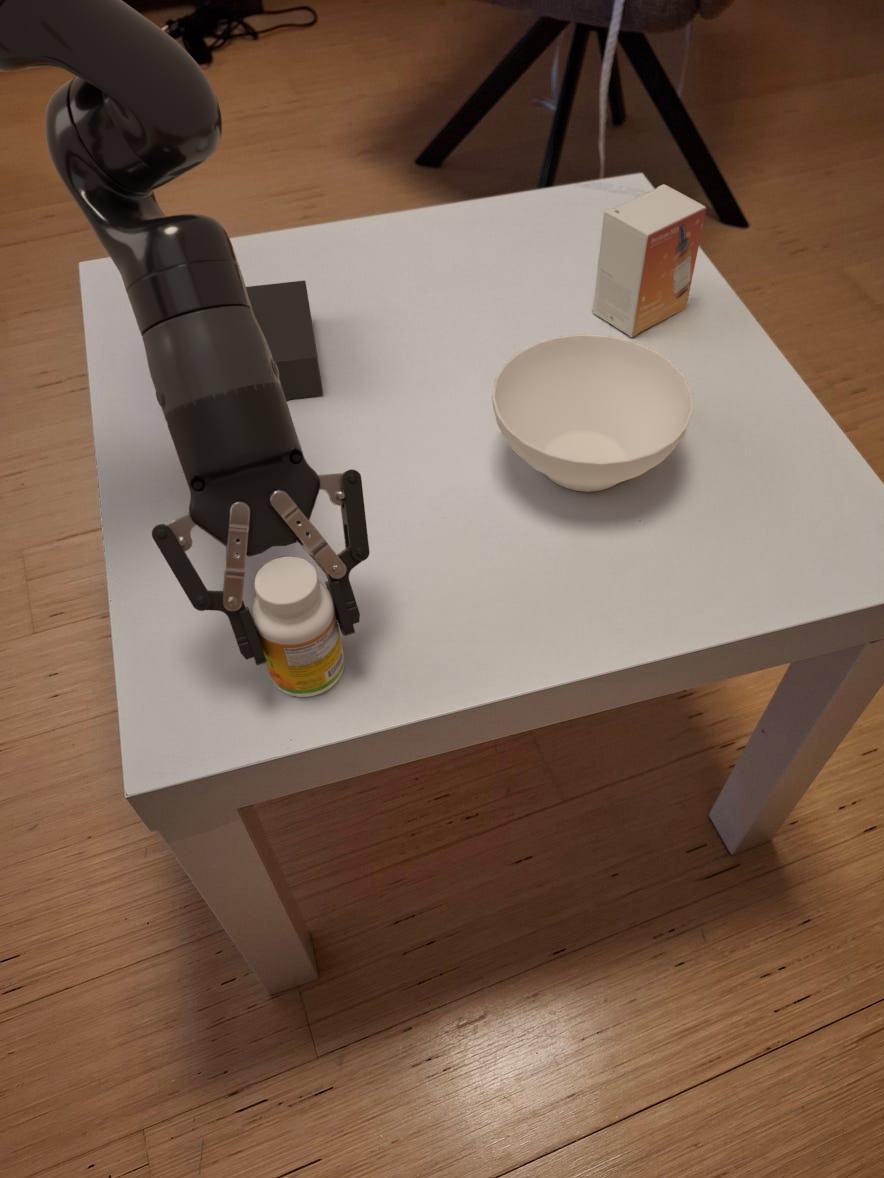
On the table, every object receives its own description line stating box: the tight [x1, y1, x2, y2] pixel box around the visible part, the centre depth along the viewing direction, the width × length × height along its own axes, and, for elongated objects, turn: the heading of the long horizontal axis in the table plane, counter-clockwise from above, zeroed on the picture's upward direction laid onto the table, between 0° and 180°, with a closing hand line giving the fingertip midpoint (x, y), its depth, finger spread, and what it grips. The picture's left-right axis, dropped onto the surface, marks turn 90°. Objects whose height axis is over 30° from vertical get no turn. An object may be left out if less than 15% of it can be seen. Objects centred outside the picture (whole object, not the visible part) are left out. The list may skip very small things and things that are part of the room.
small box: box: [592, 183, 707, 338], centre depth 89 cm, size 8×6×10 cm
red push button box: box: [246, 279, 324, 401], centre depth 86 cm, size 14×12×6 cm
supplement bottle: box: [251, 556, 345, 698], centre depth 63 cm, size 5×5×10 cm
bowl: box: [491, 333, 695, 493], centre depth 77 cm, size 16×16×7 cm
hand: (304, 647), depth 62 cm, fingers closed on supplement bottle, 5 cm apart
